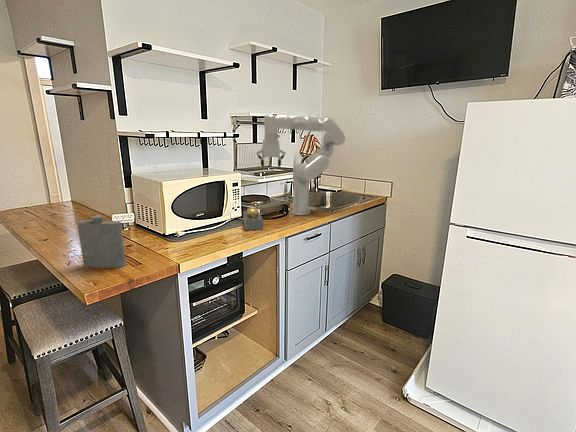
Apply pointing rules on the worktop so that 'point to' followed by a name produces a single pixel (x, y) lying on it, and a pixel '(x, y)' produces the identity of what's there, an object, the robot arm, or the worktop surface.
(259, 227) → the gray slotted box
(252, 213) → the light bulb
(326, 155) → the robot arm
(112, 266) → the hip flask
